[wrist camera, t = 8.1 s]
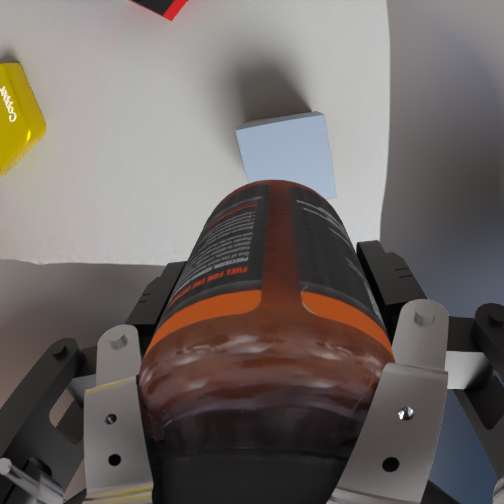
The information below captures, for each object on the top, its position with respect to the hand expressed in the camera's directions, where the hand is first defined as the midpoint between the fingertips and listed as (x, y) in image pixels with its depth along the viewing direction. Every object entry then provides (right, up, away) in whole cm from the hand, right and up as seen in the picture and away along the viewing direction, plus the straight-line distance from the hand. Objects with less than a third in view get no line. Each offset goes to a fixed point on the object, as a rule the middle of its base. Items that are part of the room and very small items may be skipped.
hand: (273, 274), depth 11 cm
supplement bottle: (0, +1, +2) cm, 3 cm away
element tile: (-40, +22, +24) cm, 52 cm away
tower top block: (+3, +11, +21) cm, 24 cm away
